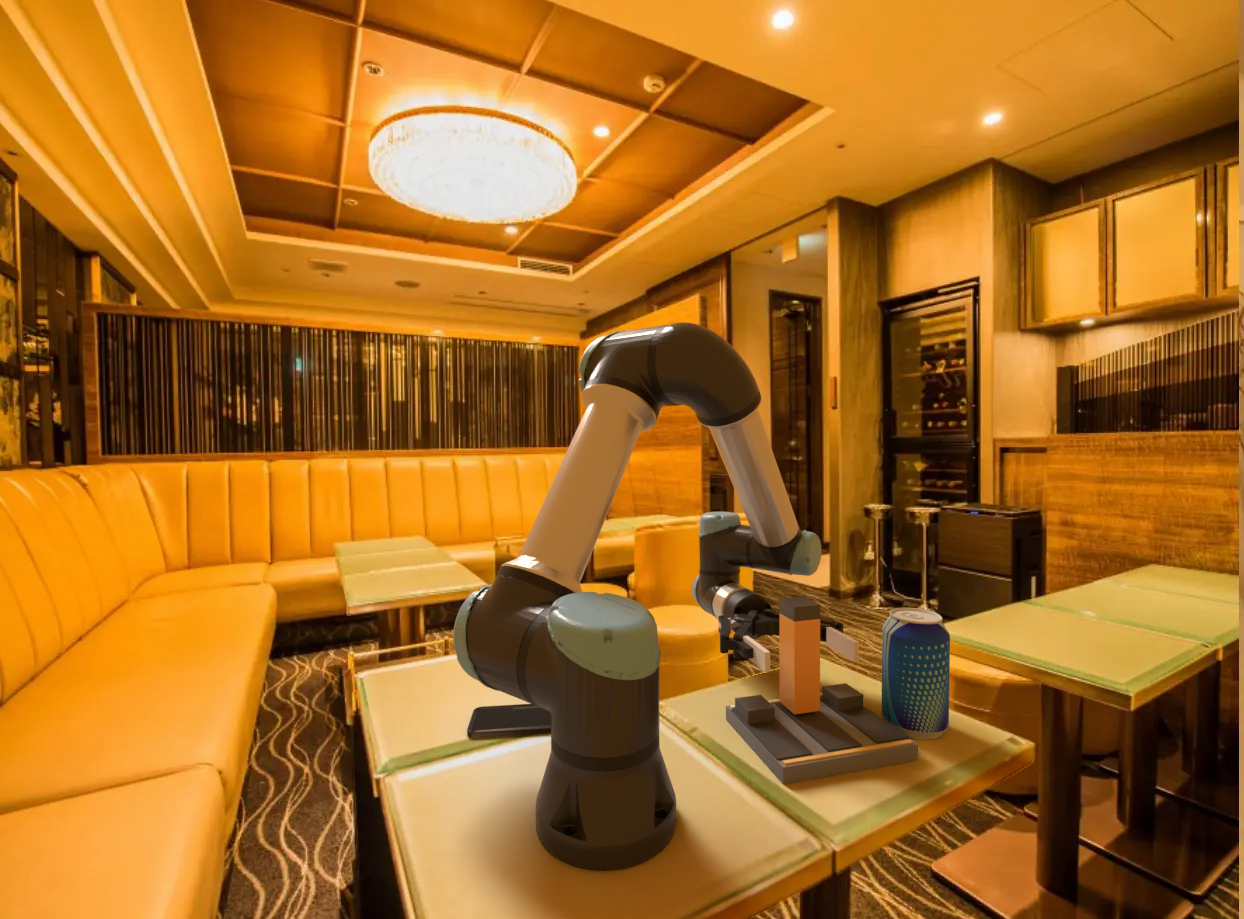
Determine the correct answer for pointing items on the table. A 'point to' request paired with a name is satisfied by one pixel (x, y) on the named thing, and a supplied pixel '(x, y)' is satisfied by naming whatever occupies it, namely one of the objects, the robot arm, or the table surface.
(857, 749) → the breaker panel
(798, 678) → the orange lever
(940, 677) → the beer can
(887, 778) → the table surface
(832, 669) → the table surface
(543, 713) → the phone
